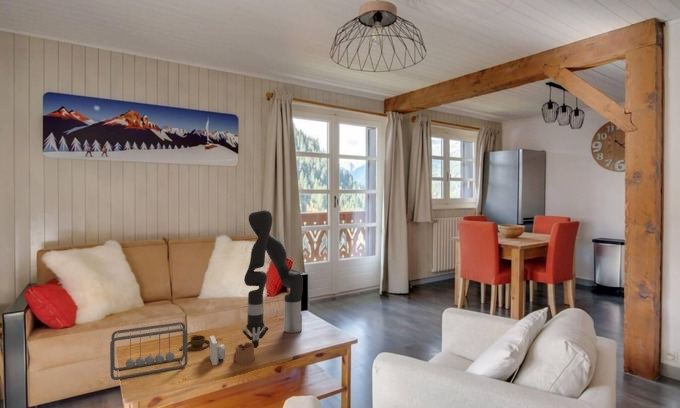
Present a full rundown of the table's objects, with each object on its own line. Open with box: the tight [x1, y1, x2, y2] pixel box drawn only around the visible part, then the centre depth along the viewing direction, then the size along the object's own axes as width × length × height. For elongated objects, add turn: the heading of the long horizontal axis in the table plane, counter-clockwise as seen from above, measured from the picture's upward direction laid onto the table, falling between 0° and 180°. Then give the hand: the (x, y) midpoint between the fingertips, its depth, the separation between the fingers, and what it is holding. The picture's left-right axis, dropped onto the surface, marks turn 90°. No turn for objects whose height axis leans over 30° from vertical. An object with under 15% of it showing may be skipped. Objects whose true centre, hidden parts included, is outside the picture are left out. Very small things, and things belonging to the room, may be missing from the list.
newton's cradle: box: [109, 321, 189, 381], centre depth 175 cm, size 30×10×18 cm, turn 117°
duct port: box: [209, 335, 226, 366], centre depth 186 cm, size 6×10×10 cm, turn 26°
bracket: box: [235, 342, 255, 365], centre depth 191 cm, size 18×8×7 cm, turn 12°
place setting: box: [179, 334, 210, 352], centre depth 198 cm, size 18×20×6 cm
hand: (255, 347), depth 193 cm, fingers closed
